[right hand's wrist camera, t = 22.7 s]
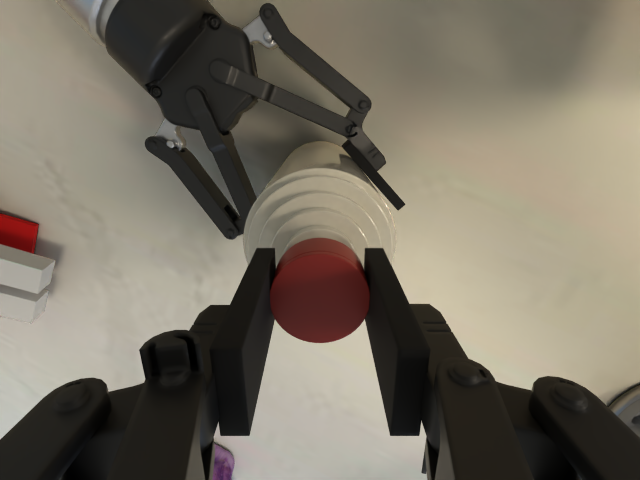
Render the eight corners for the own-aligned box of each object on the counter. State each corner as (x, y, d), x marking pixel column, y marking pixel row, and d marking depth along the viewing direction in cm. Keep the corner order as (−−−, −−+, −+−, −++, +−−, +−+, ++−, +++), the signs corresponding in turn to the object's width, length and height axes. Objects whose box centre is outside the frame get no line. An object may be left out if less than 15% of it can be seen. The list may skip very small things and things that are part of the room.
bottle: (316, 122, 33) (310, 140, 12) (377, 179, 35) (467, 286, 13) (262, 185, 35) (173, 299, 14) (322, 236, 37) (326, 406, 15)
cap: (369, 311, 15) (375, 336, 13) (284, 323, 15) (280, 349, 14) (358, 230, 14) (364, 246, 12) (266, 244, 14) (259, 262, 12)
